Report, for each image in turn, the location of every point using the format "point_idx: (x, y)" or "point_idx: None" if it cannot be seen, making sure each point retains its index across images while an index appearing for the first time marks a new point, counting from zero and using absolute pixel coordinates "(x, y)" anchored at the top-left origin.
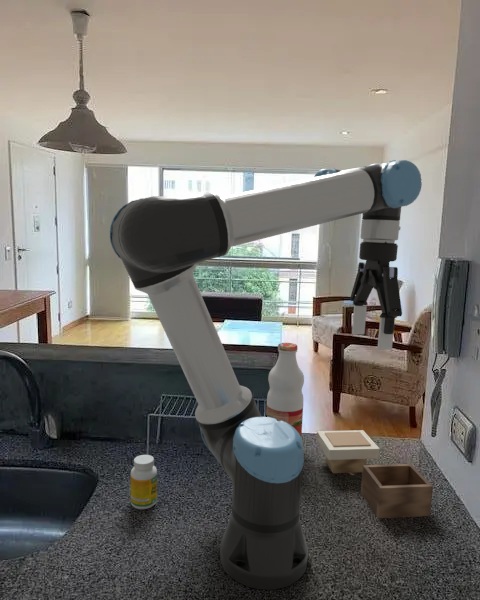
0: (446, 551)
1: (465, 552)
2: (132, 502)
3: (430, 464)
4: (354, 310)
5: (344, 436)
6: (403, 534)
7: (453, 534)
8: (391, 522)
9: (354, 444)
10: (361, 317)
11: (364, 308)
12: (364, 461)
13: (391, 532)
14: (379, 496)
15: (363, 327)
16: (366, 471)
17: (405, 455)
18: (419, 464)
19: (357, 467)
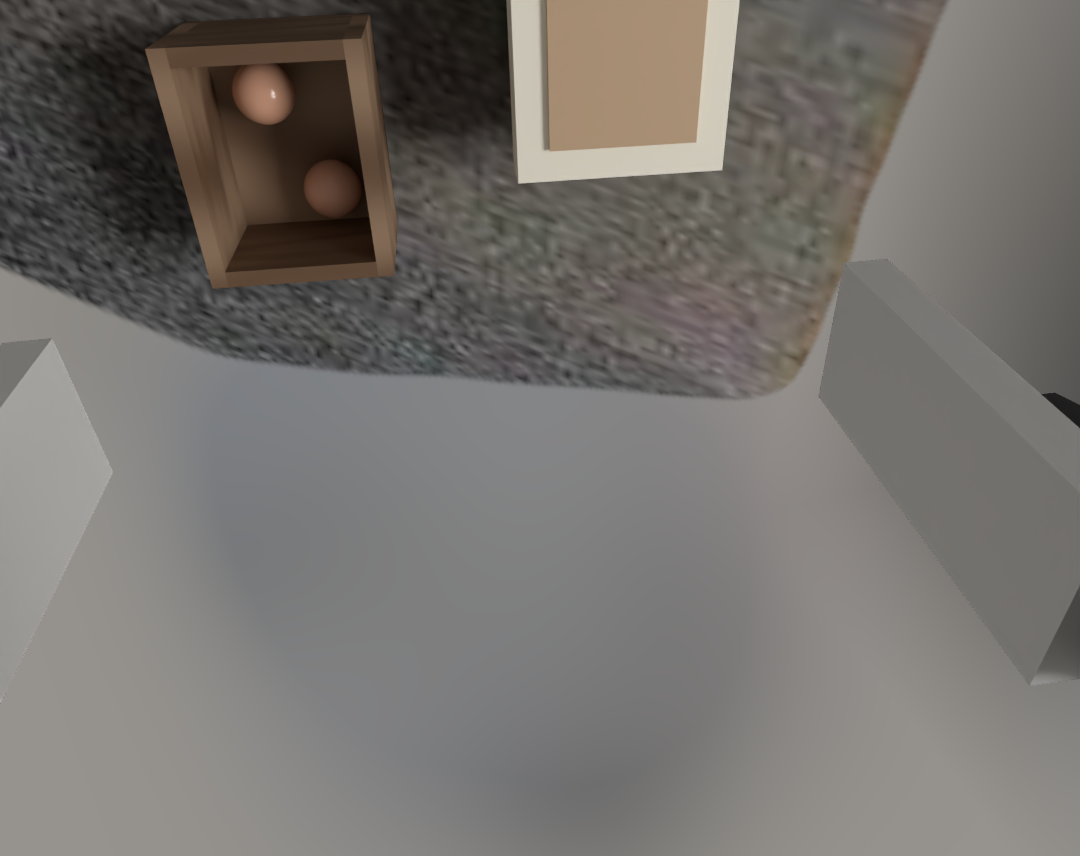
0: (51, 211)
1: (63, 269)
2: None
3: (600, 382)
4: (1074, 459)
5: (652, 34)
6: (115, 97)
7: (157, 275)
8: None
9: (555, 61)
10: (939, 487)
11: (1017, 628)
12: None
13: (117, 52)
14: (157, 40)
15: (861, 431)
16: (314, 39)
17: (676, 321)
18: (604, 345)
19: None
